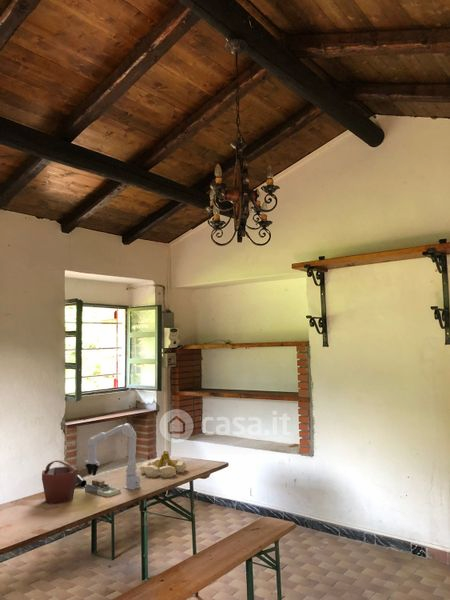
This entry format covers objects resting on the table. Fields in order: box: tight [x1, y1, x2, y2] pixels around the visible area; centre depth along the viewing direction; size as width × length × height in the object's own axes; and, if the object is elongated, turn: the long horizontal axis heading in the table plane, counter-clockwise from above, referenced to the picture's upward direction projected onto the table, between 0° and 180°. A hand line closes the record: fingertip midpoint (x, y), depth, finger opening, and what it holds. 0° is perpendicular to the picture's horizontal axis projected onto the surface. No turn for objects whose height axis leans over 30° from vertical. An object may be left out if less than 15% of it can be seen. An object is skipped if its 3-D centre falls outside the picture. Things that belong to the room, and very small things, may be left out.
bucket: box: [41, 459, 79, 505], centre depth 306 cm, size 24×22×25 cm
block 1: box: [91, 478, 100, 485], centre depth 324 cm, size 4×4×4 cm
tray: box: [96, 486, 121, 498], centre depth 316 cm, size 11×11×2 cm
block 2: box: [96, 479, 106, 488], centre depth 322 cm, size 4×4×4 cm
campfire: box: [139, 450, 188, 478], centre depth 369 cm, size 35×34×17 cm
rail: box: [84, 482, 110, 495], centre depth 323 cm, size 14×10×4 cm
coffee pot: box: [75, 474, 87, 488], centre depth 333 cm, size 8×18×8 cm
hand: (92, 474), depth 328 cm, fingers open, 4 cm apart
